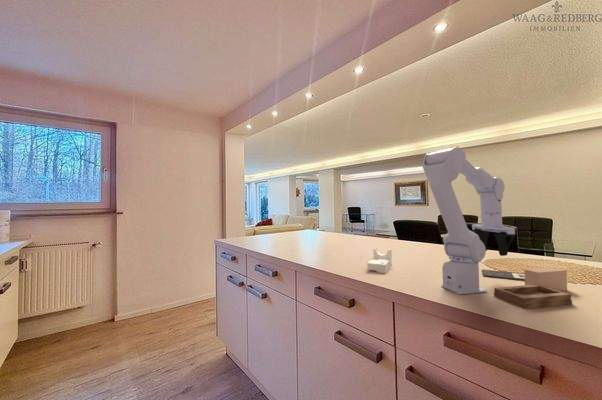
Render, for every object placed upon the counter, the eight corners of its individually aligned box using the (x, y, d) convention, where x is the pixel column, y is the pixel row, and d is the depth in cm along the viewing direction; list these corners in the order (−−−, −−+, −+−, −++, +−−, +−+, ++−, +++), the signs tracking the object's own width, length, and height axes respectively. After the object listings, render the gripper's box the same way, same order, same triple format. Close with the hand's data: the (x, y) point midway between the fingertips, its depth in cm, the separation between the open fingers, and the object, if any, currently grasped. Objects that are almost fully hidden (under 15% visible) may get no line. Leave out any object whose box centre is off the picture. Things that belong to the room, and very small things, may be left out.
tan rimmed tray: (525, 308, 65) (525, 298, 65) (493, 296, 74) (493, 287, 74) (572, 304, 67) (571, 294, 67) (535, 292, 76) (535, 284, 76)
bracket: (375, 264, 116) (374, 247, 116) (391, 266, 112) (391, 248, 112) (367, 271, 104) (367, 253, 104) (385, 273, 101) (385, 254, 101)
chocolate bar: (481, 269, 101) (544, 275, 91) (481, 271, 101) (544, 278, 91) (483, 275, 93) (551, 282, 83) (483, 277, 93) (551, 285, 83)
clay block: (538, 292, 76) (538, 272, 76) (525, 288, 80) (524, 269, 80) (567, 290, 77) (566, 270, 77) (552, 286, 81) (551, 267, 81)
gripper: (522, 213, 81) (524, 256, 81) (483, 211, 95) (485, 248, 95) (502, 214, 80) (505, 258, 80) (466, 212, 94) (468, 249, 94)
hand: (493, 253), depth 87 cm, fingers open, 7 cm apart
